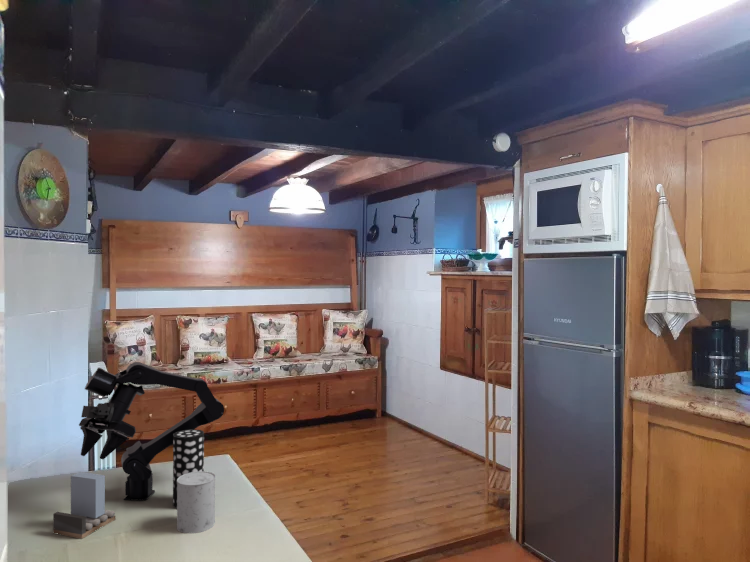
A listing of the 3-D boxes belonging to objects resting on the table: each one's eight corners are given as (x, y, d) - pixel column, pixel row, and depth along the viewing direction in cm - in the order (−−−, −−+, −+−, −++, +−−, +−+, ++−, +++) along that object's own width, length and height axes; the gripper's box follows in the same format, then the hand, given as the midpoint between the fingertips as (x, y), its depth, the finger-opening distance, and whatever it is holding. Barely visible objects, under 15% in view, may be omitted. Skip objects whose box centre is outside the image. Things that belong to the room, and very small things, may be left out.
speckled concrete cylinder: (179, 536, 135) (179, 487, 135) (174, 521, 143) (174, 474, 143) (218, 528, 139) (218, 481, 139) (211, 513, 148) (211, 469, 148)
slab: (80, 509, 143) (80, 471, 143) (104, 513, 141) (104, 475, 141) (70, 514, 140) (70, 475, 140) (95, 518, 138) (95, 479, 138)
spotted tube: (209, 499, 157) (209, 431, 157) (191, 511, 149) (191, 439, 149) (185, 495, 160) (186, 428, 160) (166, 506, 152) (166, 436, 152)
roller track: (88, 514, 146) (88, 496, 146) (115, 519, 144) (115, 500, 144) (53, 533, 136) (53, 513, 136) (81, 538, 133) (82, 518, 133)
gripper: (78, 390, 155) (47, 443, 147) (116, 392, 145) (86, 449, 137) (109, 406, 162) (82, 458, 154) (148, 409, 152) (120, 464, 144)
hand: (91, 457), depth 147 cm, fingers open, 9 cm apart
